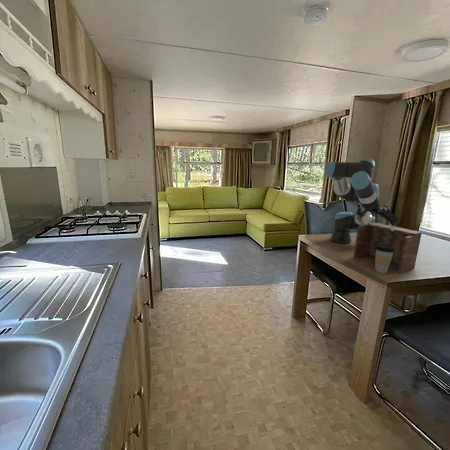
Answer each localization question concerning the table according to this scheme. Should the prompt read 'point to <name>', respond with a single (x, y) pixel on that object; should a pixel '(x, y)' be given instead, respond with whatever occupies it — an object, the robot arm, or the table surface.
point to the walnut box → (389, 243)
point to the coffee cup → (383, 257)
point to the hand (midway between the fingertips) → (379, 225)
